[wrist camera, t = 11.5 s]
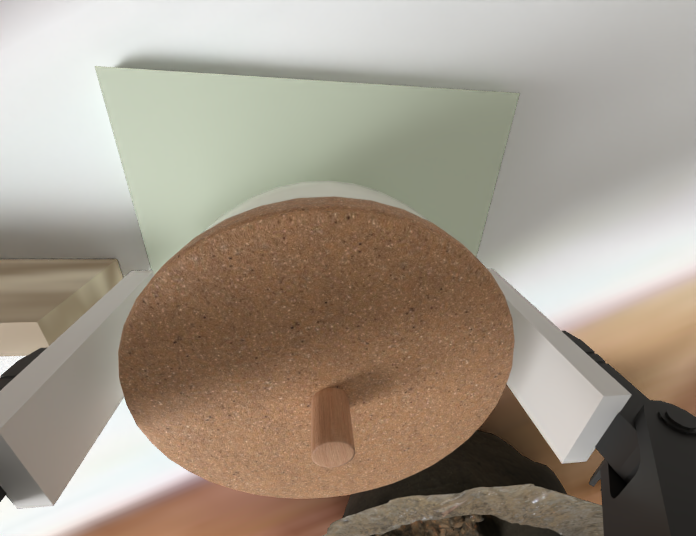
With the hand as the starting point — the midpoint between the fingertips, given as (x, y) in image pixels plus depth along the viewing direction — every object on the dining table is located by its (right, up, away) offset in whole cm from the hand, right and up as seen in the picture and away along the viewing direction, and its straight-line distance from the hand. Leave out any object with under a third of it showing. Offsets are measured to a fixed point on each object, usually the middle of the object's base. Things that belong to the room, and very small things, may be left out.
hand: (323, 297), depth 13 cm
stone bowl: (+8, -18, +15) cm, 25 cm away
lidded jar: (0, +1, +3) cm, 3 cm away
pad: (0, +2, +3) cm, 4 cm away
